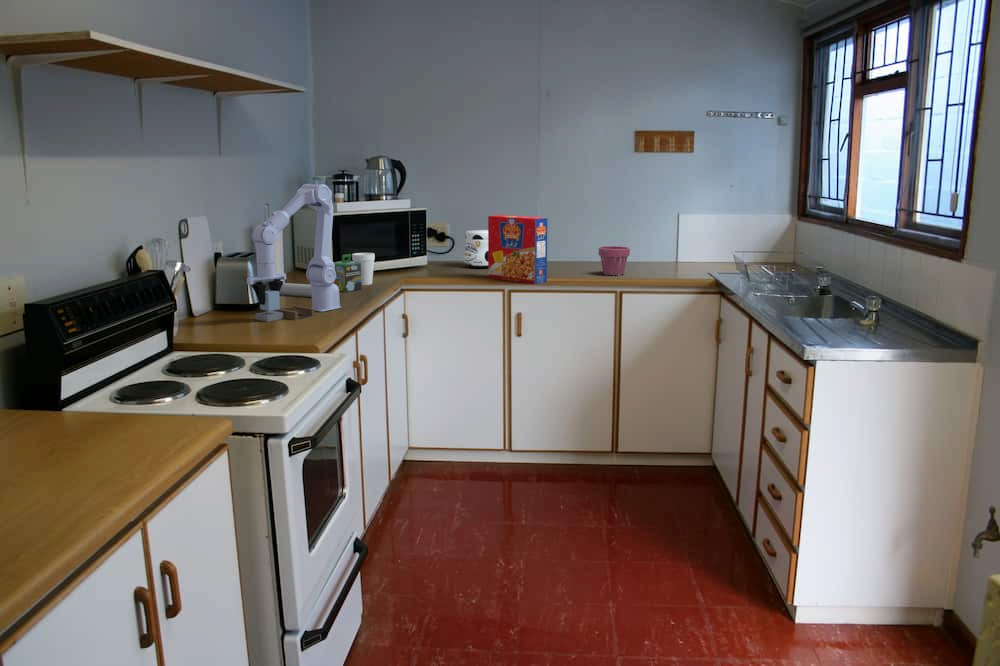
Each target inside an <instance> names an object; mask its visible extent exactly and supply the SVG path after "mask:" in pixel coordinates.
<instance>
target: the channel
mask: <svg viewBox="0 0 1000 666" xmlns="http://www.w3.org/2000/svg"><path fill="white" fill-rule="evenodd" d="M291 308H292V310H288V309H281V308H280V309H278V310H275V312H281V313H283V319H289V320H302V319H306V318H311V317H312V318H313V317H315V315H316V314H315V312H316V311H314V309H313V308H311V307H308V306H307V307H304V306H301V305H300V306H298V305H293V306H292V307H291Z"/></svg>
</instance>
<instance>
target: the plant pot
mask: <svg viewBox="0 0 1000 666" xmlns="http://www.w3.org/2000/svg"><path fill="white" fill-rule="evenodd" d="M630 251H631V249H630V247H627V246H617V245H615V246H614V245H607V246H605V245H604V246H599V247H598V256H599V257H600V262H601V267H602V273H603V275H604V274H607V275H606V276H608V275H622V274H623V275H624V274H625V269H626V266H627V261H628V257H629V256H630ZM623 275H622V276H623Z"/></svg>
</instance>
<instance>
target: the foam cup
mask: <svg viewBox="0 0 1000 666" xmlns="http://www.w3.org/2000/svg"><path fill="white" fill-rule="evenodd" d="M351 257H352V258H351V259H352V260H351V261H354V262H361V283H362V286H367V285H368V286H369V285H373V278H374V276H373V275H374V266H375V265H374V264H375V260H376V259H375V258H376V257H375V253H374V252H355V253H352V254H351Z"/></svg>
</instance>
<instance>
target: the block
mask: <svg viewBox="0 0 1000 666" xmlns="http://www.w3.org/2000/svg"><path fill="white" fill-rule="evenodd" d="M280 300H281V299H280V295H279V291H274V290H270V289H267V290H266V289H265V305H262V304H259V309H260V310H263V311H265V312H267V311H276V310H278V309H281V306H280V305H281V304H280V303H281V302H280Z"/></svg>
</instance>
